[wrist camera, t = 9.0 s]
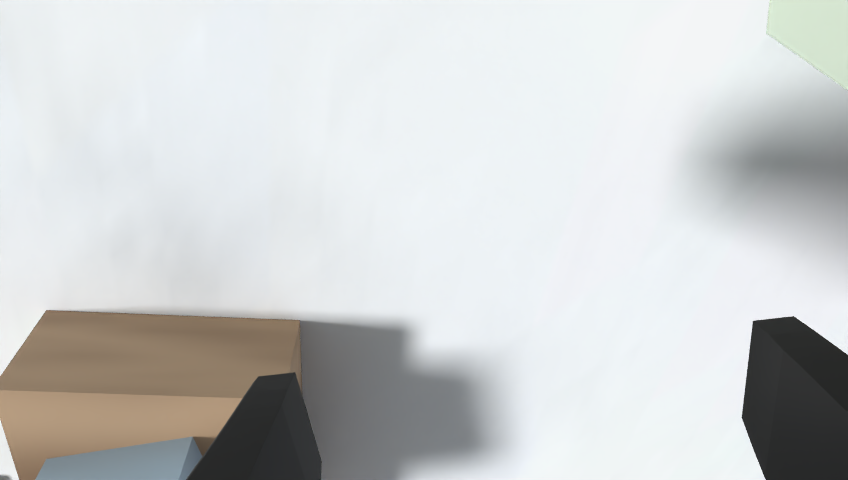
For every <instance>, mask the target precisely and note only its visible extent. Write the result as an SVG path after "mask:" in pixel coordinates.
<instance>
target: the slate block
mask: <svg viewBox="0 0 848 480" xmlns="http://www.w3.org/2000/svg"><path fill="white" fill-rule="evenodd" d="M201 458H202V455H201V453H200V451H199V449H198V446H197V444H196V442H195V440H194V438H193V437H187V438H180V439H174V440H167V441H160V442H154V443H147V444H141V445H134V446H128V447H121V448H115V449H108V450H102V451H95V452H89V453H82V454H76V455H69V456H63V457H56V458H50V459H46V461H45V462H44V464H43V466H42V468H41V470H40V472H39V474H38V475H37V477H36V479H35V480H186V479H187V477H188V476H189V474H190V473H191V472H192V470H193V469H194V468H195V466H196V465H197V463H198V462H199V461H200V459H201Z"/></svg>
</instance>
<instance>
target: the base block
mask: <svg viewBox="0 0 848 480" xmlns="http://www.w3.org/2000/svg"><path fill="white" fill-rule="evenodd" d="M293 372H295V373H296V376H297V380H298V383H299V386H300V390H301V393H302V374H301V344H300V320H281V319H255V318H230V317H204V316H179V315H153V314H127V313H102V312H76V311H51V310H46V311H45V313H44V314H43V316H42V317H41V319H40V320H39V322H38V323H37V324H36V326H35V327H34V329H33V330H32V332H31V333H30V335H29V336H28V337H27V339H26V340H25V342H24V343H23V345H22V346H21V348H20V349H19V350H18V352H17V353H16V355H15V356H14V358H13V359H12V360H11V362H10V363H9V365H8V366H7V368H6V369H5V371H4V372H3V373H2V375H1V376H0V420H1V423H2V426H3V429H4V432H5V436H6V439H7V442H8V445H9V448H10V452H11V455H12V458H13V461H14V464H15V467H16V471H17V474H18V477H19V480H35V479H36V477H37V475H38V474H39V472H40V470H41V468H42V466H43V464H44V462H45V461H46V459H50V458H56V457H63V456H69V455H76V454H82V453H89V452H95V451H102V450H108V449H115V448H121V447H128V446H134V445H141V444H147V443H154V442H160V441H167V440H174V439H180V438H187V437H193V438H194V440H195V442H196V444H197V446H198V449H199V451H200V453H201V455H202V456H203V455H204V454H205V452H206V451H207V450H208V448H209V447H210V445H211V444H212V443H213V441H214V440H215V438H216V437H217V435H218V434H219V432H220V431H221V429H222V428H223V427H224V425H225V424H226V422H227V421H228V419H229V418H230V416H231V415H232V413H233V412H234V410H235V409H236V407H237V406H238V404H239V403H240V401H241V400H242V398H243V397H244V395H245V394H246V392H247V391H248V389H249V388H250V386H251V385H252V383H253V382H254V381H255V380H256V379H257V377H258V376H266V375H275V374H284V373H293Z"/></svg>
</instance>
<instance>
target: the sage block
mask: <svg viewBox="0 0 848 480" xmlns="http://www.w3.org/2000/svg"><path fill="white" fill-rule="evenodd" d="M766 34H768V35H769V36H771V37H772V38H774V39H775V40H776V41H778V42H779V43H781V44H782V45H783V46H785V47H786V48H788V49H789V50H791V51H792V52H793V53H795V54H796V55H798V56H799V57H800V58H802V59H803V60H805V61H806V62H807V63H809V64H810V65H812V66H813V67H815V68H816V69H817V70H819V71H820V72H822V73H823V74H824V75H826V76H827V77H829V78H830V79H832V80H833V81H834V82H836V83H837V84H839V85H840V86H841V87H843V88H844V89H846V90H847V91H848V0H770V2H769V11H768V21H767V30H766Z"/></svg>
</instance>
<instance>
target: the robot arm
mask: <svg viewBox="0 0 848 480" xmlns="http://www.w3.org/2000/svg"><path fill="white" fill-rule="evenodd" d="M742 419H743V422H744V425H745V427H746V430H747V433H748V436H749V438H750V441H751V444H752V446H753V449H754V452H755V454H756V457H757V459H758V462H759V464H760V467H761V469H762V472H763V474H764V477H765V479H766V480H848V355H847V354H846V353H844V352H843V351H842V350H840V349H839V348H837V347H836V346H835V345H833V344H832V343H831V342H829V341H828V340H826V339H825V338H824V337H822V336H821V335H819V334H818V333H817V332H815V331H814V330H812V329H811V328H810V327H808V326H807V325H805V324H804V323H802V322H801V321H800V320H798V319H797V318H795V317H794V316H793V317H784V318H775V319H766V320H757V321H753V326H752V335H751V343H750V352H749V361H748V369H747V378H746V386H745V395H744V404H743V412H742ZM186 480H321V458H320V455H319V452H318V448H317V445H316V441H315V438H314V434H313V431H312V428H311V424H310V421H309V417H308V414H307V410H306V407H305V404H304V400H303V397H302V393H301V390H300V386H299V383H298V380H297V376H296V373H295V372H293V373H284V374H275V375H266V376H258V377H257V379H256V380H255V381H254V382H253V383H252V385H251V386H250V388H249V389H248V391H247V392H246V394H245V395H244V397H243V398H242V400H241V401H240V403H239V404H238V406H237V407H236V409H235V410H234V412H233V413H232V415H231V416H230V418H229V419H228V421H227V422H226V424H225V425H224V427H223V428H222V429H221V431H220V432H219V434H218V435H217V437H216V438H215V440H214V441H213V443H212V444H211V445H210V447H209V448H208V450H207V451H206V452H205V454H204V455H203V456H202V458H201V459H200V461H199V462H198V463H197V465H196V466H195V468H194V469H193V470H192V472H191V473H190V474H189V476H188V477H187V479H186Z"/></svg>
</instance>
